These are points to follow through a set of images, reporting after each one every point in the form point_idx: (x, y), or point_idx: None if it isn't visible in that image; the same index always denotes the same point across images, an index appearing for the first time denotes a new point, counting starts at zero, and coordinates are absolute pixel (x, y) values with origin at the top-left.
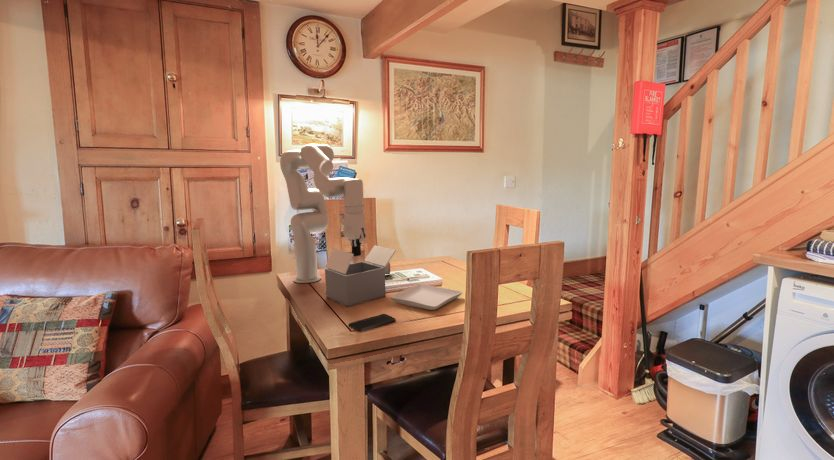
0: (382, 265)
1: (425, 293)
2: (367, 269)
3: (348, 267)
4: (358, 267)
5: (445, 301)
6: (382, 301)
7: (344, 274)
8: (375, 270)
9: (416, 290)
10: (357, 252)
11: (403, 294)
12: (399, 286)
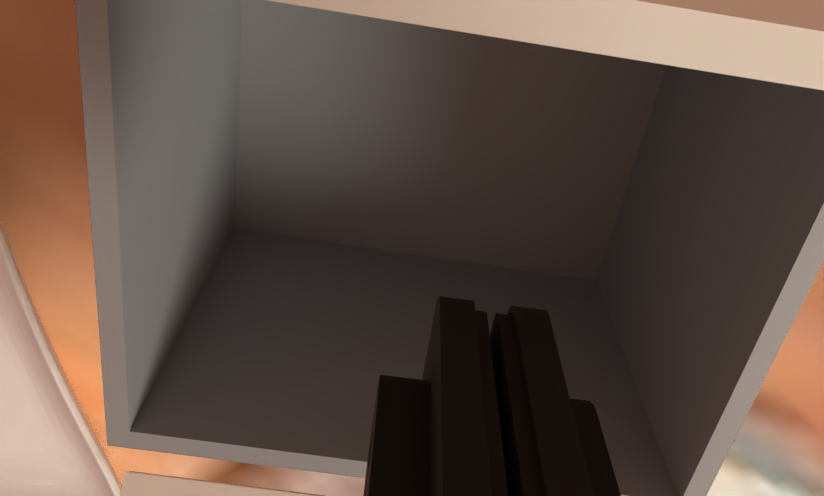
0: (180, 481)
1: (2, 440)
2: None
3: (757, 264)
4: (680, 396)
5: None
6: None
7: (748, 145)
8: (101, 297)
9: (82, 441)
10: (376, 414)
11: (14, 294)
12: None
